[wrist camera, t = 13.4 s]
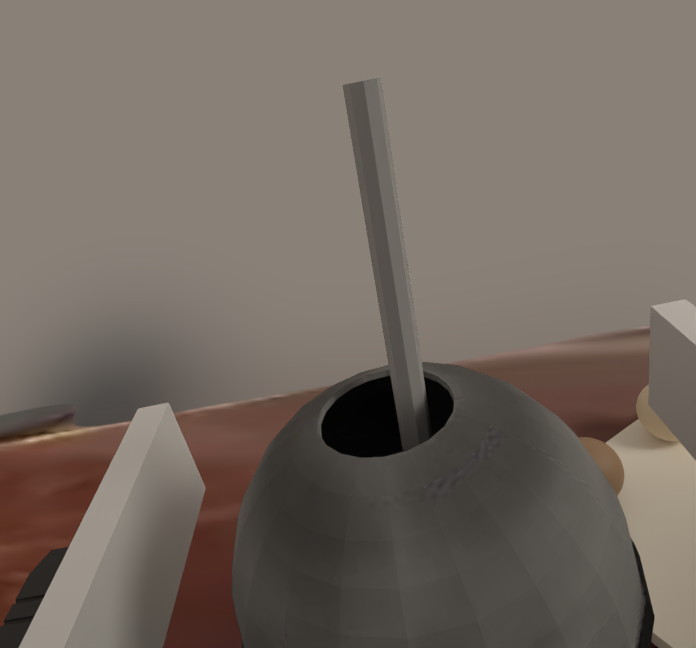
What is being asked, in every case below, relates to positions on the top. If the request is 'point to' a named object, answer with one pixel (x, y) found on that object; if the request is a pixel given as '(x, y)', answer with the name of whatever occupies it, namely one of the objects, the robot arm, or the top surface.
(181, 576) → the robot arm
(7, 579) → the top surface
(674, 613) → the cream card
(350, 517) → the beverage cup
